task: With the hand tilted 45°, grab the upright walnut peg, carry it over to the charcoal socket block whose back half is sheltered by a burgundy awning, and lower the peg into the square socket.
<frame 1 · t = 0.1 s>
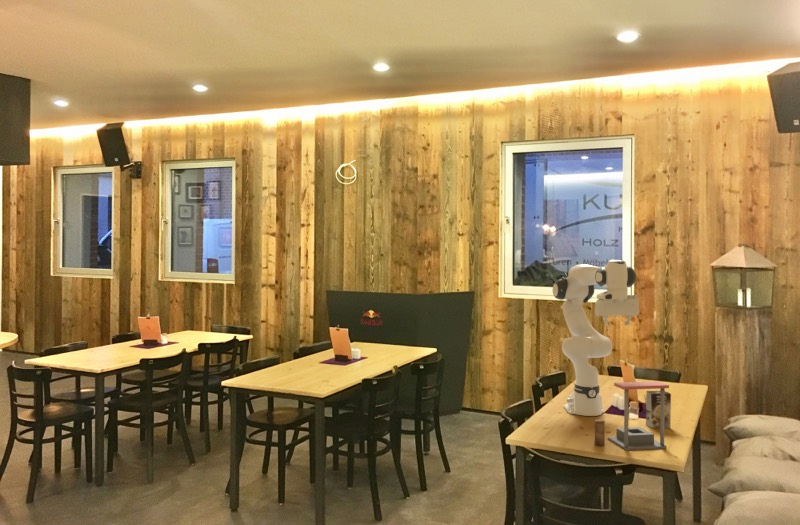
hand: (617, 325, 280), 48 cm above the table, tool pointing down, fingers open, 8 cm apart
socket stand: (634, 442, 261), on the table
coffee box: (658, 426, 286), on the table
walnut peg: (599, 444, 259), on the table
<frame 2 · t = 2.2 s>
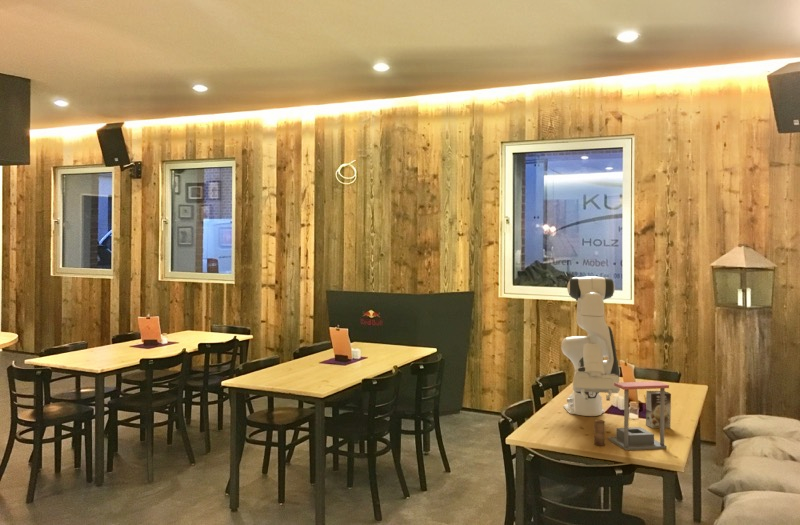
hand: (597, 399, 270), 16 cm above the table, tool tilted 45°, fingers open, 8 cm apart
nothing on the table moved.
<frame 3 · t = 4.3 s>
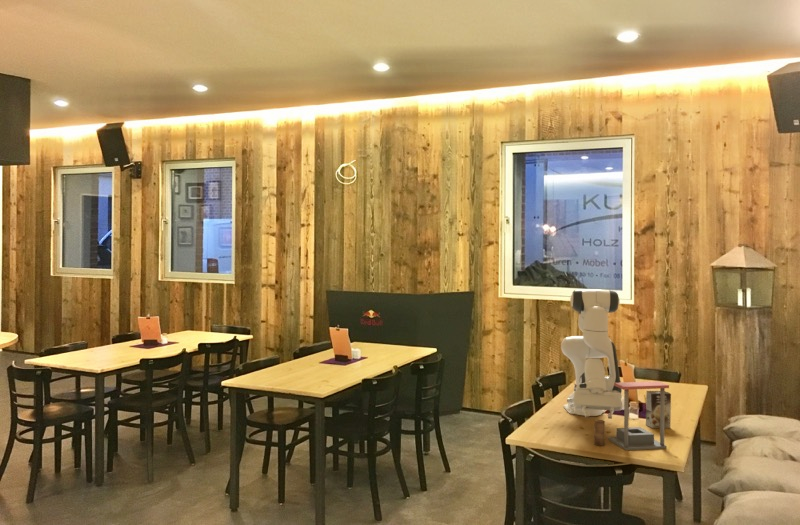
hand: (598, 417, 262), 11 cm above the table, tool tilted 45°, fingers open, 8 cm apart
nothing on the table moved.
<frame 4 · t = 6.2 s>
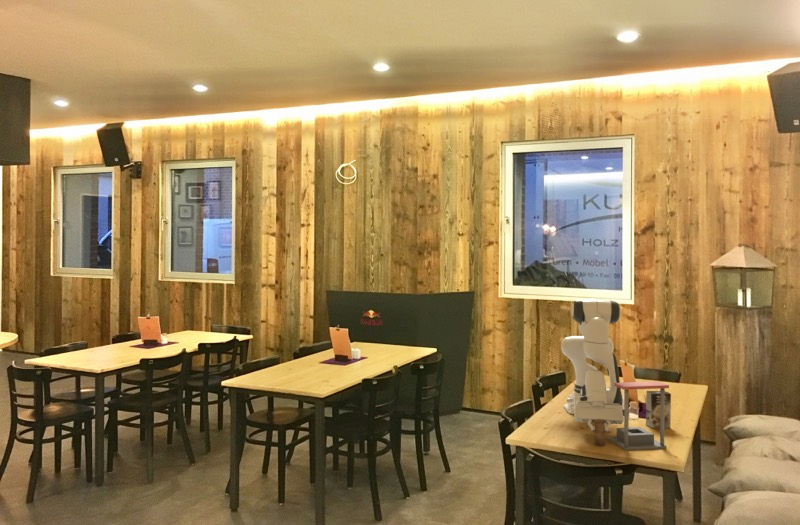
hand: (599, 431, 258), 6 cm above the table, tool tilted 45°, fingers closed on walnut peg, 4 cm apart
walnut peg: (599, 444, 259), on the table, touching gripper
everything else where it was.
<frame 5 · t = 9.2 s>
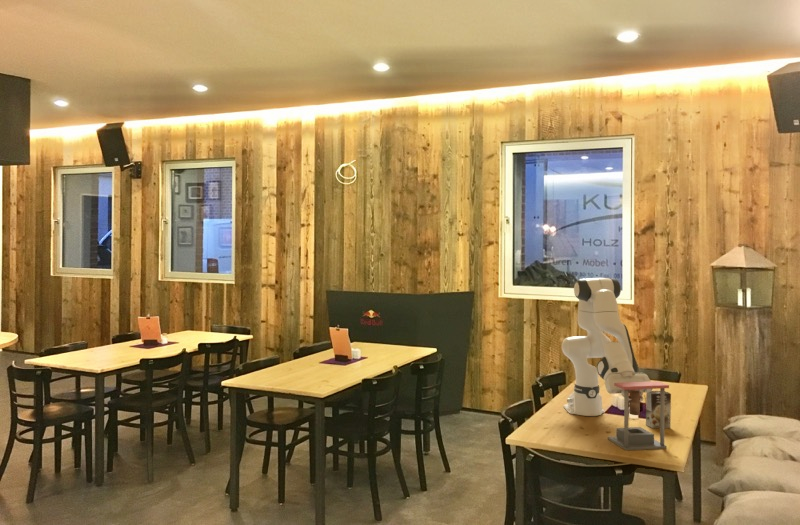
hand: (635, 400, 260), 18 cm above the table, tool tilted 45°, fingers closed on walnut peg, 4 cm apart
walnut peg: (634, 413, 261), point 12 cm above the table, touching gripper
everything else where it was.
when the fingers open (8 cm above the table, at t = 12.1 s): walnut peg stays where it is, resting on socket stand.
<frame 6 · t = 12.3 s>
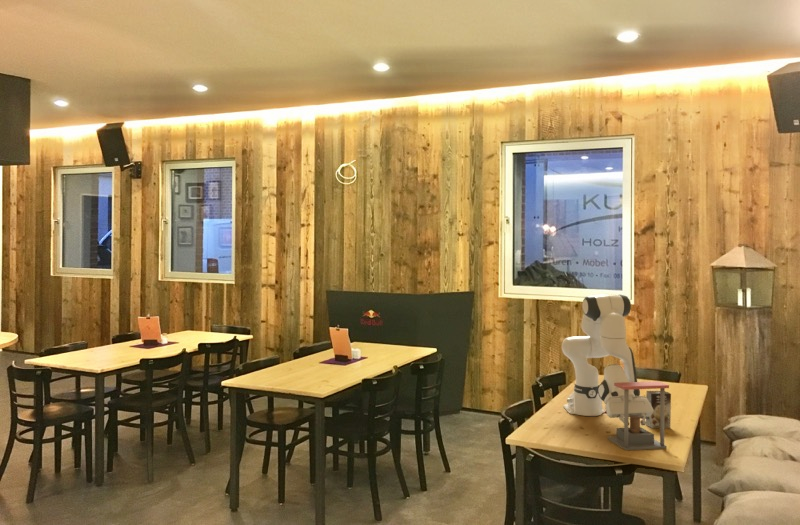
hand: (635, 424, 260), 8 cm above the table, tool tilted 45°, fingers open, 6 cm apart
walnut peg: (634, 440, 261), point 1 cm above the table, touching socket stand
everything else where it was.
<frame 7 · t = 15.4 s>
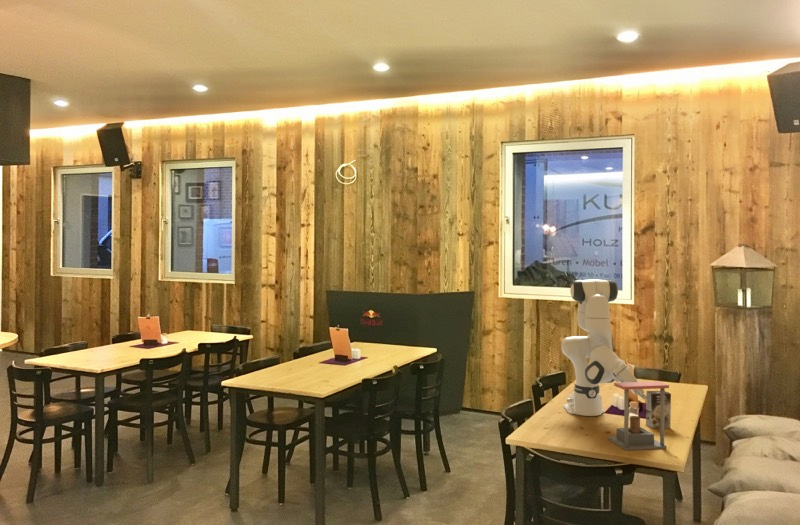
hand: (644, 395, 269), 18 cm above the table, tool tilted 50°, fingers open, 8 cm apart
nothing on the table moved.
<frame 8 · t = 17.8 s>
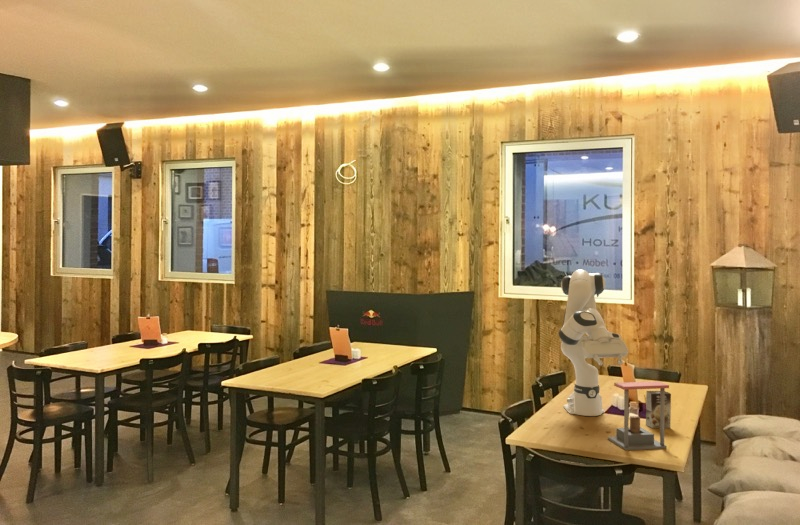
hand: (611, 364, 273), 31 cm above the table, tool tilted 45°, fingers open, 8 cm apart
nothing on the table moved.
at the end: walnut peg 0.0 cm off-centre on the socket stand, point 1.0 cm above the socket stand's base; walnut peg tilted 0°; the gripper is holding nothing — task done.
